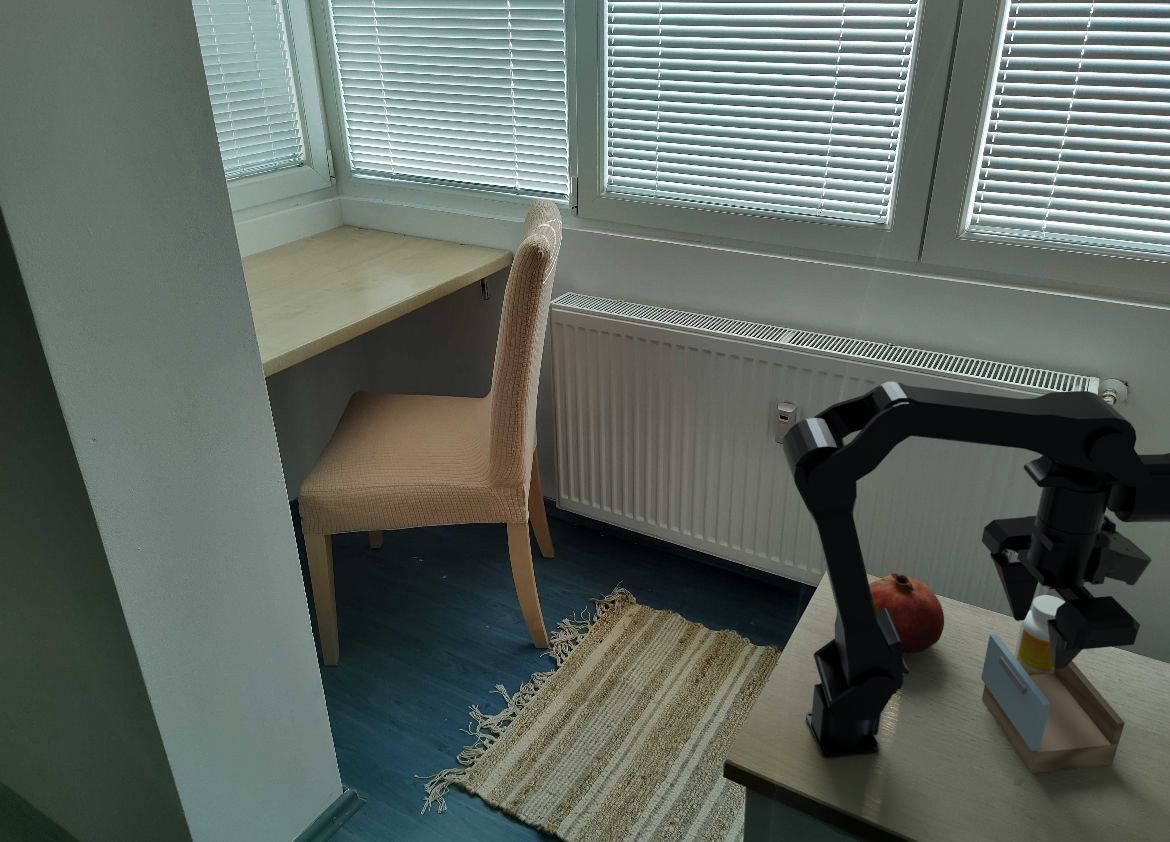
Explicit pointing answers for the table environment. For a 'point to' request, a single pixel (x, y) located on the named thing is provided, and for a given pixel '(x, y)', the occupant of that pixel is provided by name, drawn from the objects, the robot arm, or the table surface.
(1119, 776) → the table surface
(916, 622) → the fruit
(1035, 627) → the supplement bottle
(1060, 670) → the brown platform with wall
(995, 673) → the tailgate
